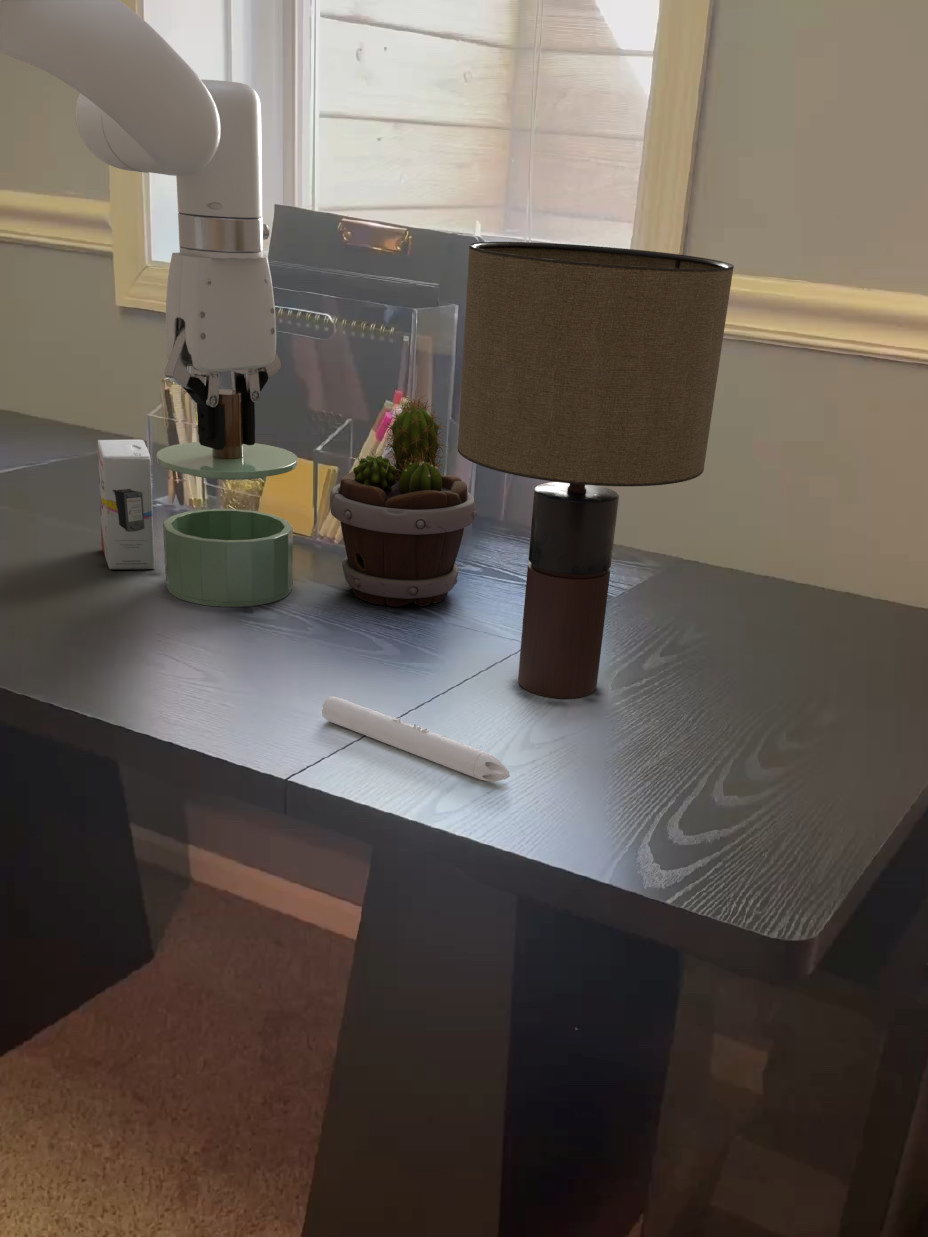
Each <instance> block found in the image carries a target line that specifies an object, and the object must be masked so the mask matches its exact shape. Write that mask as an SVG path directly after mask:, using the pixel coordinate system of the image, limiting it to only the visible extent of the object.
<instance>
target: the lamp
mask: <svg viewBox="0 0 928 1237" xmlns="http://www.w3.org/2000/svg"><path fill="white" fill-rule="evenodd" d="M467 262H468V263H467V264H468V265H467V280H466V282H467V283H466V295H465V296H466V298H465V314H464V315H465V316H464V334H463V351H462V369H461V382H460V383H461V384H460V399H459V400H460V402H459V418H458V419H459V420H458V437H457V452H458V453H459V454H460V456H461V457H463V458H464V459H466V460H467V461H469V462H471V463H473V464H475V465H478V466H480V467H482V468H483V467H484V468H486V469H489V470H493V471H497V472H500V473H504V474H508V475H513V476H517V477H522V478H528V479H533V480H540V481H547V482H544V483H541V484H538V485H536V486H535V487H534V489H533V500H532V502H533V503H532V513H531V524H530V535H529V536H530V537H529V549H528V562H527V568H526V569H527V570H526V580H525V593H524V604H523V616H522V626H521V627H522V628H521V640H520V650H519V663H518V676H517V680H518V684H519V685H520V686H521V688H523V689H524V690H526V691H528V692H530V693H532V694H535V695H538V696H543V697H546V698H553V699H577V698H582V697H586V696H588V695H591V694H592V693H594V692H595V691H596V689H597V685H598V680H599V672H600V671H599V670H600V661H601V652H602V645H603V636H604V628H605V627H604V626H605V621H606V620H605V619H606V613H607V612H606V611H607V602H608V594H609V588H610V587H609V586H610V579H611V578H610V577H611V567H612V560H613V550H614V542H615V533H616V525H617V518H618V517H617V516H618V508H619V500H620V495H619V493H618V492H616V491H615V490H613V489H610V488H607V487H652V486H665V485H672V484H679V483H683V482H687V481H690V480H694V479H696V478H698V477H700V476H701V475H703V473H704V471H705V463H706V456H707V450H708V443H709V436H710V435H709V434H710V429H711V423H712V417H713V411H714V410H713V409H714V404H715V403H714V402H715V396H716V389H717V382H718V375H719V368H720V363H721V362H720V361H721V354H722V349H723V341H724V335H725V329H726V321H727V314H728V307H729V301H730V295H731V294H730V293H731V286H732V279H733V273H734V268H735V266H734V264H732V263H729V262H726V261H723V260H717V259H711V258H707V257H701V256H700V257H699V256H692V255H685V254H679V253H669V252H662V251H653V250H652V251H651V250H642V249H633V248H621V247H613V246H611V247H610V246H597V245H584V244H570V243H554V242H553V243H552V242H529V241H481V242H480V241H479V242H474V243H469V245H468V261H467Z"/></svg>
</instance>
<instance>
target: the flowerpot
mask: <svg viewBox="0 0 928 1237" xmlns="http://www.w3.org/2000/svg"><path fill="white" fill-rule="evenodd" d="M417 390H418V388H417V387H416V388H415V392H414V398H413V399H411V398H410V397H409V396H405V395H404V397H403V400H406V401H405V403H403V402H401V407H399V409H400V413H397V409H395V414H393V413H391V417H390V420H391V422H389V421H387V425H388V426H387V425H385V424H384V423H382V425H383V426H384V427H386V428H387V431H386V435H387V436H389V437H387V439H386V441H387V443H386V444H387V445H384V447H385V448H387V451H389V452H387V454H388V455H389V456H388V457H383V453H384V450H382V451H383V452H382V453H381V454H380V455H379V453H377V455H376V450H375V449H372V451H368V452H367V453H366V457H361V456H360V452H358V453H357V460H358V465H357V466H355V467H354V468H353V469H352V471H350V472H348V473H346V474H345V475H344V476H342V477H341V479H340V483H337V484H336V485H334V486H333V487H332V488H331V490H330V493H329V508H330V514H331V515H332V517H334V518H335V519H336V520H337V521H339V522H340V527H341V534H342V538H343V543H344V549H345V552H346V556H345V557H344V558H343V559H342V561H341V567H342V572H343V576H344V579H345V582H346V584H347V585H348V586H350V587H351V591H352V592H353V593H354V594H353V595H354V596H355V597H356V598H358V599H360V600H362V601H364V602H367V603H371V604H373V605H379V606H380V605H381V606H382V605H384V604H386V605H387V606H389V607H393V608H394V607H395V608H396V607H397V608H398V607H403V606H406V605H409V604H410V603H412V602H414V603H415V605H417V606H419V607H426V606H428V605H430V604H437V603H440V602H441V601H443V600H444V599H445V598H446V597H447V596H448V594H449V592H450V591H451V590H452V589H453V588H454V587H455V585H456V584H458V576H459V566H458V565H457V563H456V560H457V558H458V554H459V551H460V547H461V544H462V540H463V536H464V532H465V531H464V530H465V528H467V527H469V526H471V524H473V522H474V520H475V518H476V517H477V516H478V513H477V511H476V502H475V501H476V500H475V498H474V496H473V495H472V494H471V492H468V485H467V483H466V482H465V481H463V480H462V478H460V477H459V476H457V475H453V474H448V475H445V474H443V473H442V472H440V471H442V470H441V468H444V469H445V467H444V466H446V465H445V464H444V463H441V460H439V461H438V459H442V458H444V455H443V456H440V454H441V453H442V452H444V449H443V448H442V447H444V448H447V445H446V444H443V442H444V438H443V437H444V435H443V434H442V433H445V430H443V428H448V427H447V426H443V422H442V421H441V418H440V417H439V414H437V413H435V412H436V411H435V409H434V410H432V409H430V408H429V407H432V406H434V404H431V405H430V404H429V403H428V402H429V400H427V401H426V402H422V401H421V399H423V398H424V397H426V396H427V394H425V395H423V396H421V397H420V395H418V396H417ZM416 397H417V398H416ZM419 397H420V398H419ZM439 419H440V420H439ZM439 430H441V431H439ZM389 431H390V433H389ZM438 432H439V433H438ZM439 439H442V441H441V440H439ZM390 450H391V451H390ZM369 453H371V455H372V456H371V455H368V454H369ZM392 459H393V461H392ZM440 467H441V468H440Z"/></svg>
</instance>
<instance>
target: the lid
mask: <svg viewBox="0 0 928 1237" xmlns="http://www.w3.org/2000/svg"><path fill="white" fill-rule="evenodd" d="M218 406H221V407H223V409H224V429H225V447H224V449H222V450H216V449H213V448H209V447H206V446H202V445H201V444H200V443H199V441H194V442H193V441H191V442H183V443H177V444H172V445H169V446H165V447H163V448H161V449H159V450H158V451H157V453H156V462H157V464H158V465H159V466H161V467H162V468H164V469H166V470H169V471H172V472H175V473H179V474H184V475H189V476H192V477H197V478H203V479H209V480H210V479H211V480H223V481H226V480H227V481H242V480H243V481H244V480H245V481H246V480H255V479H263V478H267V477H273V476H278V475H283V474H287V473H289V472H292V471H294V470H295V469H296V468H297V467H298V465H299V461H298V456H297V455H296V454H295V453H294V452H292V451H290V450H288V449H285V448H283V447H279V446H273V445H269V444H263V443H256V442H255V444H254V445H245V444H243V420H242V393H241V392H240V391H237V390H232V389H230V388H229V389H227V388H219V401H218Z"/></svg>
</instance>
